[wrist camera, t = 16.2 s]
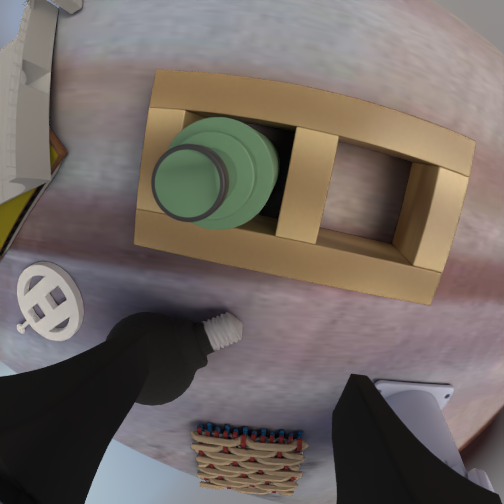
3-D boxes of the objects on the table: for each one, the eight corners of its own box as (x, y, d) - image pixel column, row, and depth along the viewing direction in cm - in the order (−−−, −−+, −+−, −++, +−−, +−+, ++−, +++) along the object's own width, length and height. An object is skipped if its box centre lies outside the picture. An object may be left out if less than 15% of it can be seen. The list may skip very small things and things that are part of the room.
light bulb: (270, 380, 18) (121, 432, 16) (253, 351, 24) (138, 394, 23) (228, 281, 18) (73, 342, 16) (221, 275, 24) (103, 322, 22)
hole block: (408, 278, 19) (430, 306, 16) (160, 226, 20) (133, 244, 16) (444, 140, 16) (476, 141, 12) (181, 83, 17) (155, 69, 13)
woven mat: (296, 499, 26) (297, 484, 28) (310, 446, 22) (310, 429, 24) (199, 489, 27) (203, 475, 29) (186, 434, 24) (192, 418, 26)
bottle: (272, 208, 19) (251, 274, 9) (201, 194, 19) (113, 243, 9) (286, 135, 18) (281, 117, 8) (213, 123, 18) (127, 99, 8)
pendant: (45, 247, 21) (51, 244, 22) (-3, 299, 24) (2, 296, 25) (94, 323, 23) (99, 318, 23) (36, 357, 25) (41, 353, 26)
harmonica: (-27, 246, 21) (-14, 238, 23) (-11, 271, 22) (2, 262, 23) (36, 124, 16) (53, 122, 18) (58, 154, 17) (74, 151, 19)
